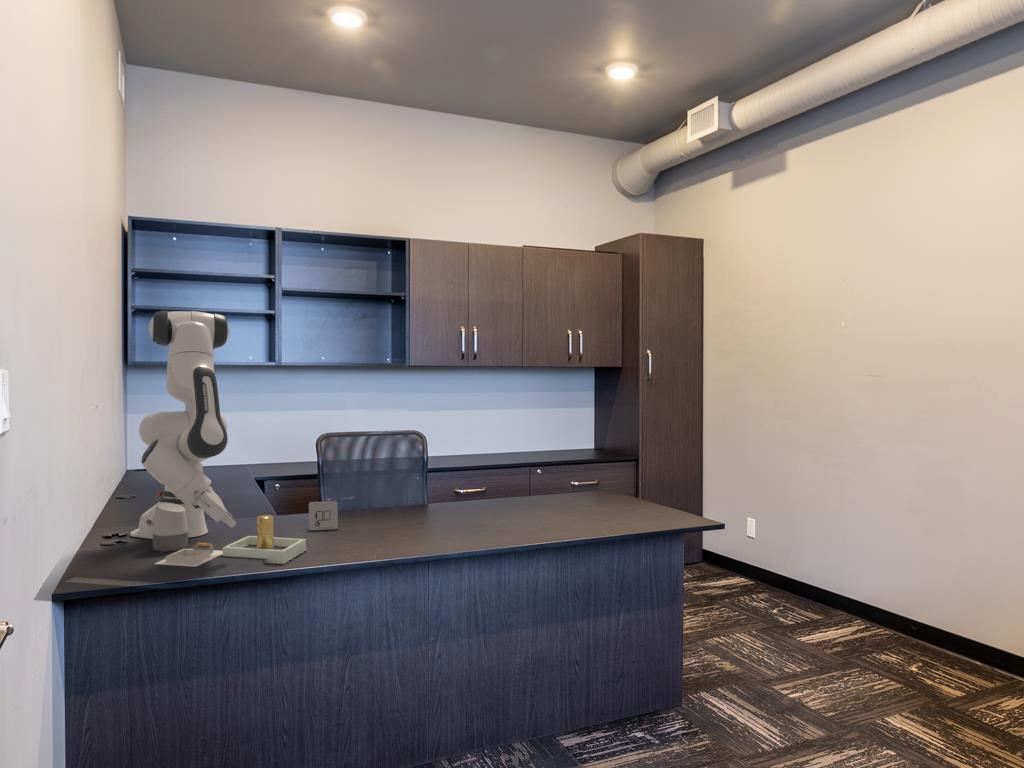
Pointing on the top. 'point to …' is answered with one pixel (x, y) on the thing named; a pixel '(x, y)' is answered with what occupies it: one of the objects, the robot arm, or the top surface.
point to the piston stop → (265, 532)
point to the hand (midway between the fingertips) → (232, 521)
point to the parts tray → (269, 555)
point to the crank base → (192, 556)
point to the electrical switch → (323, 515)
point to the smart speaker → (170, 527)
